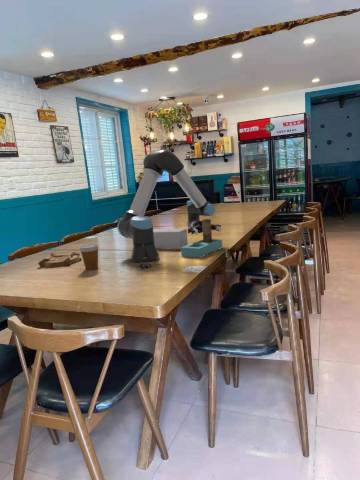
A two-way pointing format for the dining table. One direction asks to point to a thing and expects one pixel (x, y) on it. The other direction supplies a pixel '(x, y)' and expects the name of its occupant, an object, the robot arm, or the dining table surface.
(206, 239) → the walnut pin
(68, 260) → the brown flat irregular piece
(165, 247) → the stack of papers
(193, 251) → the bore block
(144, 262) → the eiffel tower figurine
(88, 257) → the disposable coffee cup
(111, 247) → the dining table surface
